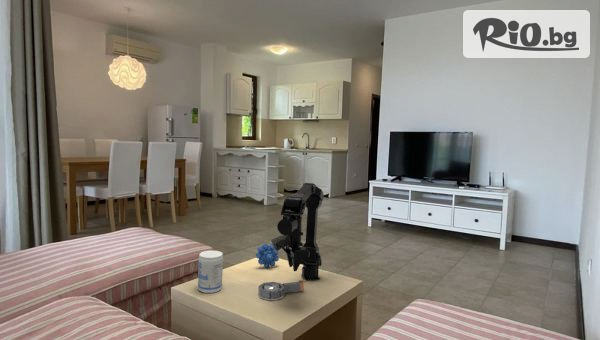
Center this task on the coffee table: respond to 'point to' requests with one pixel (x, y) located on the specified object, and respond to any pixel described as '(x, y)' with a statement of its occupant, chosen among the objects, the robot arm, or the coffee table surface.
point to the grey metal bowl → (271, 288)
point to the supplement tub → (210, 271)
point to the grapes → (267, 255)
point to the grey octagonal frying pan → (280, 289)
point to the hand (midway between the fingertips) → (292, 269)
